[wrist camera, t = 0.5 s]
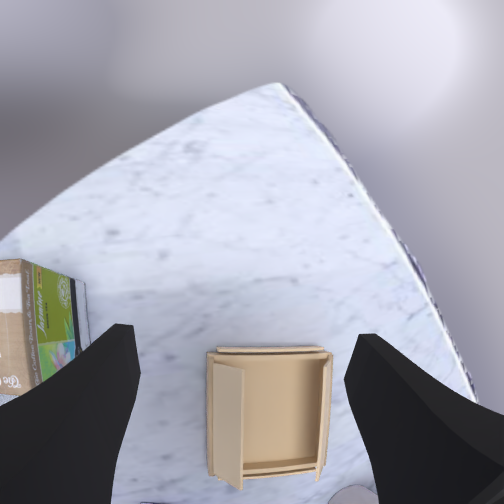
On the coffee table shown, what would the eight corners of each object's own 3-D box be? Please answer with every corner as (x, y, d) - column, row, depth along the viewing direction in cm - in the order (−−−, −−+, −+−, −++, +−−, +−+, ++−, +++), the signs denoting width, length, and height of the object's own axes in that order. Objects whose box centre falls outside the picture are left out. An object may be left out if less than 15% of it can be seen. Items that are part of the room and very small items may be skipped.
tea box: (86, 278, 31) (22, 254, 17) (95, 370, 30) (37, 404, 15) (-15, 285, 28) (-93, 268, 14) (-8, 367, 26) (-84, 383, 12)
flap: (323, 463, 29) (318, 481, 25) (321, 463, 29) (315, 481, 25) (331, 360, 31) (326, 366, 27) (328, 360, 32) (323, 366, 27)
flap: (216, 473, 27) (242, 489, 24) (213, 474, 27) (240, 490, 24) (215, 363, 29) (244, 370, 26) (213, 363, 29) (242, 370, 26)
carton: (317, 462, 32) (326, 471, 29) (207, 471, 29) (209, 482, 27) (324, 345, 35) (335, 347, 32) (206, 346, 32) (208, 349, 30)
